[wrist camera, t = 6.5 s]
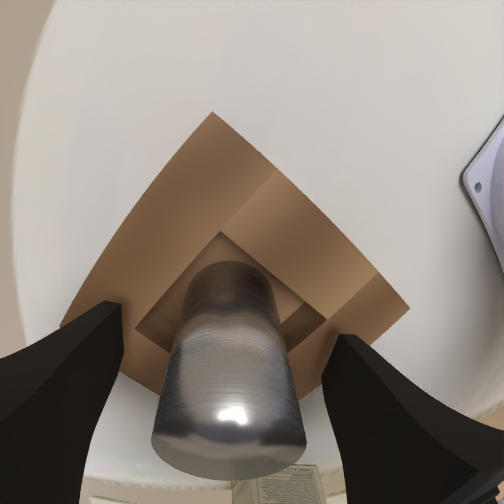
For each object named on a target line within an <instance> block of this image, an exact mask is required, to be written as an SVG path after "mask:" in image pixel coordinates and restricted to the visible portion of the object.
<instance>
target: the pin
mask: <svg viewBox="0 0 504 504" xmlns="http://www.w3.org/2000/svg"><path fill="white" fill-rule="evenodd" d="M151 442H152V446H153V449H154V450H155V452H156V453H157V454H158V456H159V457H160V458H161V459H162V460H164V461H165V462H166V463H168V464H169V465H171V466H172V467H174V468H176V469H178V470H180V471H183V472H185V473H188V474H191V475H194V476H198V477H202V478H207V479H214V480H226V481H237V480H249V479H256V478H261V477H265V476H268V475H272V474H274V473H277V472H279V471H282V470H284V469H286V468H287V467H289V466H291V465H292V464H294V463H295V462H296V461H297V460H298V459H299V458H300V457H301V456H302V454H303V453H304V451H305V449H306V444H307V442H306V436H305V431H304V427H303V422H302V417H301V413H300V408H299V404H298V399H297V395H296V390H295V385H294V381H293V376H292V372H291V367H290V363H289V358H288V354H287V350H286V345H285V341H284V336H283V332H282V327H281V323H280V319H279V314H278V310H277V306H276V301H275V297H274V293H273V289H272V286H271V284H270V282H269V280H268V279H267V278H266V276H265V275H264V274H263V273H262V272H260V271H259V270H258V269H256V268H255V267H253V266H251V265H249V264H246V263H243V262H238V261H221V262H216V263H213V264H211V265H209V266H207V267H205V268H203V269H202V270H200V271H199V272H198V273H197V274H196V275H195V276H194V277H193V279H192V280H191V282H190V284H189V287H188V290H187V293H186V297H185V301H184V304H183V308H182V312H181V315H180V319H179V323H178V327H177V330H176V334H175V338H174V342H173V346H172V350H171V354H170V358H169V362H168V366H167V370H166V374H165V378H164V383H163V387H162V391H161V395H160V400H159V404H158V409H157V413H156V418H155V423H154V427H153V432H152V437H151Z"/></svg>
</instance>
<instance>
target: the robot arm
mask: <svg viewBox="0 0 504 504" xmlns="http://www.w3.org/2000/svg"><path fill="white" fill-rule="evenodd" d="M463 183H464V186H465V188H466V189H467V191H468V193H469V195H470V197H471V199H472V201H473V203H474V205H475V207H476V209H477V211H478V213H479V215H480V217H481V219H482V221H483V224H484V226H485V228H486V230H487V232H488V235H489V237H490V239H491V242H492V244H493V247H494V249H495V252H496V254H497V257H498V259H499V262H500V265H501V267H502V270H503V273H504V119H503V120H502V121H501V123H500V124H499V126H498V127H497V129H496V130H495V132H494V133H493V134H492V136H491V137H490V139H489V140H488V141H487V143H486V144H485V145H484V147H483V148H482V149H481V151H480V152H479V153H478V155H477V156H476V157H475V159H474V160H473V161H472V163H471V164H470V165H469V166H468V168H467V169H466V170H465V172H464V174H463ZM476 184H477V186H476V189H475V185H476ZM123 355H124V341H123V325H122V304H120V303H115V302H110V301H106V300H104V301H102V302H101V303H99V304H97V305H96V306H94V307H93V308H91V309H89V310H88V311H86V312H85V313H83V314H82V315H80V316H79V317H77V318H76V319H74V320H72V321H71V322H69V323H68V324H66V325H65V326H63V327H62V328H60V329H58V330H56V331H55V332H53V333H51V334H50V335H48V336H46V337H44V338H43V339H41V340H39V341H37V342H36V343H34V344H32V345H30V346H28V347H26V348H24V349H22V350H20V351H17V352H15V353H13V354H11V355H9V356H6V357H4V358H1V359H0V504H79V499H80V491H81V484H82V478H83V473H84V468H85V463H86V459H87V455H88V451H89V447H90V443H91V439H92V436H93V433H94V430H95V427H96V425H97V422H98V420H99V417H100V415H101V413H102V410H103V408H104V406H105V403H106V401H107V399H108V396H109V394H110V392H111V389H112V387H113V385H114V383H115V380H116V378H117V375H118V372H119V368H120V365H121V362H122V358H123ZM321 381H322V388H323V394H324V401H325V404H326V408H327V411H328V415H329V418H330V421H331V425H332V428H333V431H334V435H335V438H336V441H337V445H338V448H339V451H340V455H341V460H342V464H343V471H344V478H345V485H346V495H347V504H504V497H503V498H502V499H501V500H499V501H498V502H497V500H496V498H495V497H496V496H497V495H498V494H499V493H500V491H499V489H498V487H497V486H498V485H499V484H500V483H501V482H502V481H504V431H503V430H499V429H496V428H493V427H490V426H488V425H485V424H482V423H480V422H478V421H475V420H473V419H471V418H469V417H466V416H465V415H463V414H461V413H459V412H457V411H455V410H453V409H451V408H449V407H448V406H446V405H444V404H443V403H441V402H440V401H438V400H436V399H435V398H433V397H432V396H430V395H429V394H427V393H426V392H425V391H423V390H422V389H420V388H419V387H418V386H417V385H415V384H414V383H413V382H411V381H410V380H409V379H408V378H406V377H405V376H404V375H403V374H401V373H400V372H399V371H398V370H397V369H395V368H394V367H393V366H392V365H391V364H390V363H389V362H387V361H386V360H385V359H384V358H383V357H382V356H381V355H379V354H378V353H377V352H376V351H375V350H374V349H373V348H371V347H370V346H369V345H368V344H367V343H365V342H364V341H363V340H362V339H360V338H359V337H358V336H356V335H354V334H339V336H338V338H337V341H336V343H335V346H334V348H333V350H332V353H331V355H330V357H329V360H328V362H327V364H326V366H325V369H324V371H323V373H322V375H321Z"/></svg>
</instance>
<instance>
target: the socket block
mask: <svg viewBox="0 0 504 504" xmlns="http://www.w3.org/2000/svg"><path fill="white" fill-rule="evenodd" d="M221 261H238V262H243V263H246V264H249V265H251V266H253V267H255V268H256V269H258V270H259V271H260V272H262V273H263V274H264V275H265V276H266V278H267V279H268V280H269V282H270V284H271V286H272V289H273V293H274V297H275V301H276V306H277V310H278V314H279V319H280V323H281V327H282V332H283V336H284V341H285V345H286V350H287V354H288V358H289V363H290V367H291V372H292V376H293V381H294V385H295V390H296V395H297V399H298V400H299V399H301V398H302V397H304V396H305V395H307V394H308V393H309V392H311V391H312V390H314V389H315V388H316V387H318V386H319V385H320V384H322V381H321V375H322V373H323V371H324V369H325V366H326V364H327V362H328V360H329V357H330V355H331V353H332V350H333V348H334V346H335V343H336V341H337V338H338V336H339V334H354V335H356V336H358V337H359V338H360V339H362V340H363V341H364V342H365V343H367V344H368V345H369V346H370V345H371V344H372V343H373V342H374V341H375V340H377V339H378V338H379V337H380V336H381V335H382V334H383V333H384V332H386V331H387V330H388V329H389V328H390V327H391V326H392V325H393V324H394V323H395V322H396V321H398V320H399V319H400V318H401V317H402V316H403V315H404V314H405V313H406V312H407V311H408V310H409V309H410V308H409V306H408V305H407V304H406V303H405V302H404V300H403V299H402V298H401V297H400V296H399V295H398V293H397V292H396V291H395V290H394V289H393V288H392V286H391V285H390V284H389V283H388V282H387V281H386V280H385V278H384V277H383V276H382V275H381V274H380V273H379V272H378V271H377V269H376V268H375V267H374V266H373V265H372V264H371V263H370V262H369V261H368V260H367V258H366V257H365V256H364V255H363V254H362V253H361V252H360V251H359V250H358V249H357V248H356V247H355V246H354V244H353V243H352V242H351V241H350V240H349V239H348V238H347V237H346V236H345V235H344V234H343V233H342V232H341V231H340V230H339V229H338V228H337V227H336V226H335V225H334V224H333V222H332V221H331V220H330V219H329V218H328V217H327V216H326V215H325V214H324V213H323V212H322V211H321V210H320V209H319V208H318V207H317V206H316V205H315V204H314V203H313V202H312V201H311V200H310V199H309V198H308V197H307V196H306V195H305V194H303V193H302V192H301V191H300V190H299V189H298V188H297V187H296V186H295V185H294V184H293V183H292V182H291V181H290V180H289V179H288V178H287V177H286V176H285V175H284V174H283V173H282V172H280V171H279V170H278V169H277V168H276V167H275V166H274V165H273V164H272V163H271V162H270V161H269V160H267V159H266V158H265V157H264V156H263V155H262V154H261V153H260V152H259V151H258V150H256V149H255V148H254V147H253V146H252V145H251V144H250V143H249V142H247V141H246V140H245V139H244V138H243V137H242V136H241V135H239V134H238V133H237V132H236V131H235V130H234V129H233V128H231V127H230V126H229V125H228V124H227V123H226V122H224V121H223V120H222V119H221V118H220V117H218V116H217V115H216V114H215V113H214V112H211V113H210V115H209V116H208V117H207V118H206V119H205V120H204V121H203V122H202V123H201V124H200V126H199V127H198V128H197V129H196V130H195V131H194V132H193V133H192V135H191V136H190V137H189V138H188V139H187V140H186V142H185V143H184V144H183V145H182V146H181V147H180V149H179V150H178V151H177V152H176V153H175V155H174V156H173V157H172V158H171V159H170V161H169V162H168V163H167V164H166V166H165V167H164V168H163V169H162V171H161V172H160V173H159V174H158V176H157V177H156V178H155V179H154V181H153V182H152V183H151V185H150V186H149V187H148V189H147V190H146V191H145V192H144V194H143V195H142V196H141V198H140V199H139V201H138V202H137V203H136V205H135V206H134V207H133V209H132V210H131V212H130V213H129V214H128V216H127V217H126V219H125V220H124V221H123V223H122V224H121V226H120V227H119V229H118V230H117V231H116V233H115V234H114V236H113V237H112V239H111V240H110V242H109V243H108V245H107V246H106V248H105V249H104V251H103V253H102V254H101V256H100V257H99V259H98V260H97V262H96V263H95V265H94V267H93V268H92V270H91V272H90V273H89V275H88V276H87V278H86V280H85V281H84V283H83V285H82V286H81V288H80V290H79V292H78V293H77V295H76V297H75V298H74V300H73V302H72V304H71V306H70V307H69V309H68V311H67V313H66V315H65V316H64V318H63V320H62V322H61V324H60V326H59V327H61V328H62V327H63V326H65V325H66V324H68V323H69V322H71V321H72V320H74V319H76V318H77V317H79V316H80V315H82V314H83V313H85V312H86V311H88V310H89V309H91V308H93V307H94V306H96V305H97V304H99V303H101V302H102V301H104V300H106V301H110V302H115V303H120V304H122V325H123V341H124V355H123V358H122V362H121V365H120V368H119V371H121V372H122V373H124V374H125V375H127V376H128V377H130V378H132V379H133V380H135V381H136V382H138V383H140V384H141V385H143V386H145V387H146V388H148V389H150V390H151V391H153V392H155V393H156V394H158V395H161V391H162V387H163V383H164V378H165V374H166V370H167V366H168V362H169V358H170V354H171V350H172V346H173V342H174V338H175V334H176V330H177V327H178V323H179V319H180V315H181V312H182V308H183V304H184V301H185V297H186V293H187V290H188V287H189V284H190V282H191V280H192V279H193V277H194V276H195V275H196V274H197V273H198V272H199V271H200V270H202V269H203V268H205V267H207V266H209V265H211V264H213V263H216V262H221Z"/></svg>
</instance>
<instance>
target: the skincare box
mask: <svg viewBox="0 0 504 504" xmlns="http://www.w3.org/2000/svg"><path fill="white" fill-rule="evenodd" d="M232 504H327V503H326V499H325V495H324V491H323V487H322V483H321V479H320V475H319V471H318V467H317V466H302V465H291V466H289V467H287V468H286V469H284V470H282V471H279V472H277V473H274V474H272V475H268V476H265V477H261V478H256V479H249V480H237V481H232Z"/></svg>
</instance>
